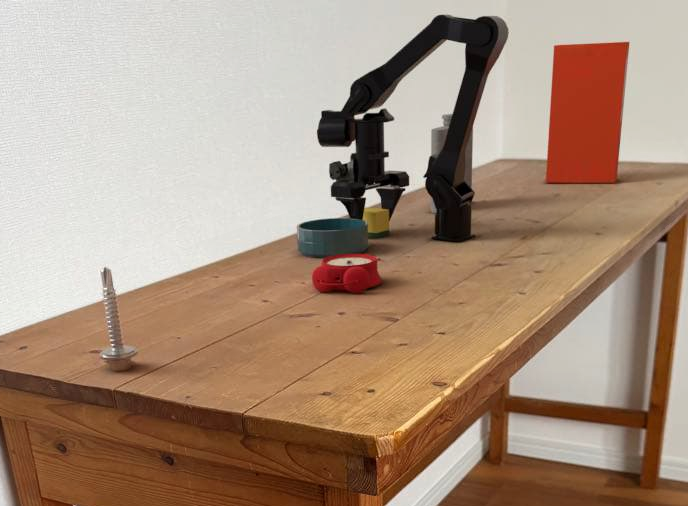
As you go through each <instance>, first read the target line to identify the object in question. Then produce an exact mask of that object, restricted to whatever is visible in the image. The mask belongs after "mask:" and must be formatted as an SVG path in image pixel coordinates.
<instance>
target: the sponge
mask: <svg viewBox="0 0 688 506" xmlns="http://www.w3.org/2000/svg"><path fill="white" fill-rule="evenodd" d="M363 220H365V221H367V222H368V238H369V239H370V238H372V239H379V238H382V237H385V236H389V235H390V221H389V210H388V209H381V208H377V207H365V208H364V214H363Z"/></svg>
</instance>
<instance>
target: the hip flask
mask: <svg viewBox="0 0 688 506" xmlns="http://www.w3.org/2000/svg"><path fill="white" fill-rule="evenodd" d="M452 114H453V113H447V114H442V115H441V119H442V125H443V126H439V127H435V128H432V129H431V130H430V131H431V132H430V156H432V155H434V154H437V153H440V152H441V150H442V148H443V146H444V142H445V139H446V135H447V132H448V128H449V125H450V121H451V118H452ZM473 140H474V127H473V128H472V131H471V134H470V138H469V141H468V144H467V148H466V152H465V160H466V168H465V176H464V181H465V182H466V183H467V184H468V185H469V186H470V187H471V188H472V187H473V186H472V185H473V146H474V142H473ZM472 189H473V188H472ZM471 204H472V202H471V203H468V205H471ZM430 213H431V214H435V213H437V209H436V207H435V204H434V201H433V198H432V197H431V196H430Z"/></svg>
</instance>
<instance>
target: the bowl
mask: <svg viewBox="0 0 688 506" xmlns="http://www.w3.org/2000/svg"><path fill="white" fill-rule="evenodd" d="M369 239H370V237H368V222H367V221H365V220H361V219H353V218H350V217H331V218H328V217H327V218H320V219H312V220H311V219H310V220H307V221H303V222H301V223H299V224H297V225H296V241H297V250H298V252H299V253H300V254H301V255H303V256H305V257H310V258H318V259H325V258H327V257H330V256H335V255H342V254H364V253H365V252H366V250H367V249H368V248H369V246H370V243H369Z"/></svg>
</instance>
